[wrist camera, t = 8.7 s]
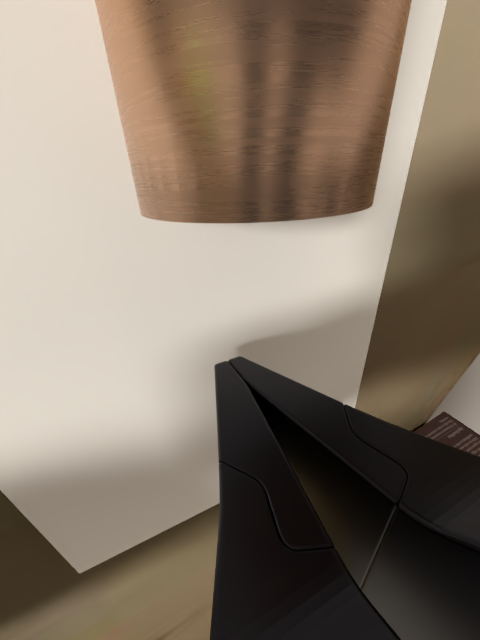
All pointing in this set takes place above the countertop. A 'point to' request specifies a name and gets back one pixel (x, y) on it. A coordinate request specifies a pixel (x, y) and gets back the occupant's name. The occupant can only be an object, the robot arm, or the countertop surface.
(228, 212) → the tube
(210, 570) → the countertop surface
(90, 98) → the slab
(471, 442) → the box
